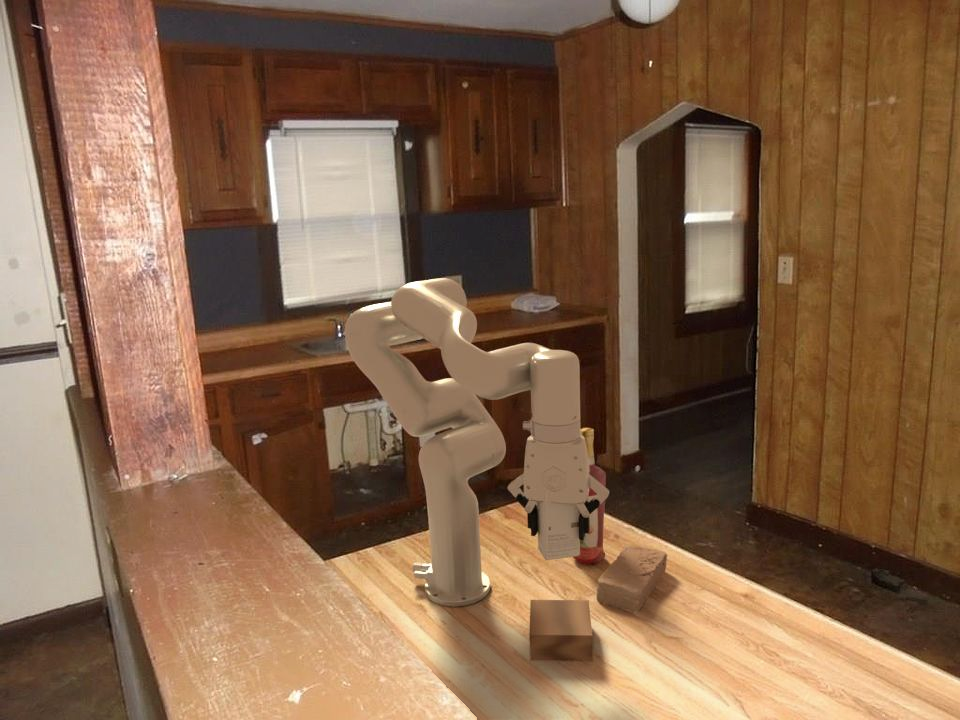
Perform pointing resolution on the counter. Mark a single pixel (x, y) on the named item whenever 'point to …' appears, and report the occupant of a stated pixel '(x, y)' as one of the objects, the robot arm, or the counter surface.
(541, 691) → the counter surface
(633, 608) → the brick
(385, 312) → the robot arm
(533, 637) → the walnut block
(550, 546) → the skincare box
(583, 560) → the liquor
